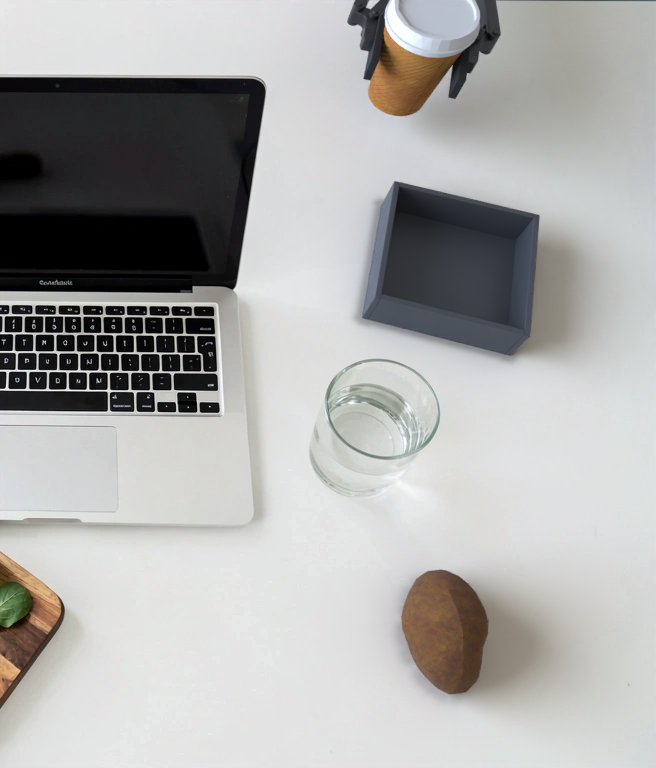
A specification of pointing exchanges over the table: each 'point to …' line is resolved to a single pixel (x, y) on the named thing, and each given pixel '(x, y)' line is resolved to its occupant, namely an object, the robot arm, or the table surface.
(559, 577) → the table surface
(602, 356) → the table surface
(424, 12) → the disposable coffee cup
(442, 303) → the bin
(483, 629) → the potato
